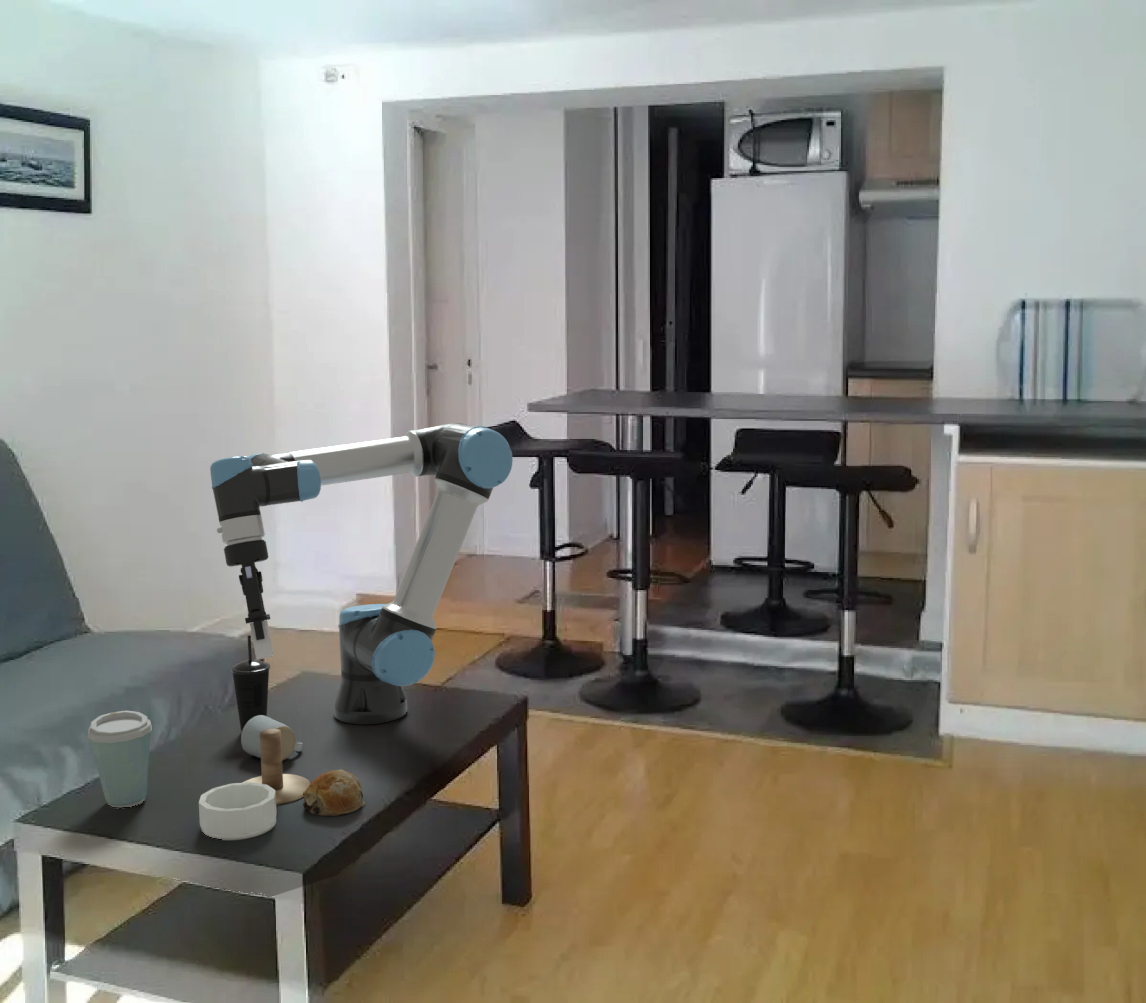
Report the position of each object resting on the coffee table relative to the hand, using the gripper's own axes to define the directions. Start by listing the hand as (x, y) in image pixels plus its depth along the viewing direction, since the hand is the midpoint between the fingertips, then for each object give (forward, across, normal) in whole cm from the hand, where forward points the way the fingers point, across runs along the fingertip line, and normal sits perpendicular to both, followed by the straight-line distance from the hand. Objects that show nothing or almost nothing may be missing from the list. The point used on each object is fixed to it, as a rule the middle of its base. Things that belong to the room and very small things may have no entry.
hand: (265, 657), depth 230 cm
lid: (+23, +3, -3) cm, 24 cm away
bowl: (+26, +17, -8) cm, 32 cm away
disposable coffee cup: (+20, +2, -28) cm, 34 cm away
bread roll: (+27, +12, +7) cm, 31 cm away
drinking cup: (+15, -28, -6) cm, 33 cm away
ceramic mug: (+19, -14, -2) cm, 24 cm away
